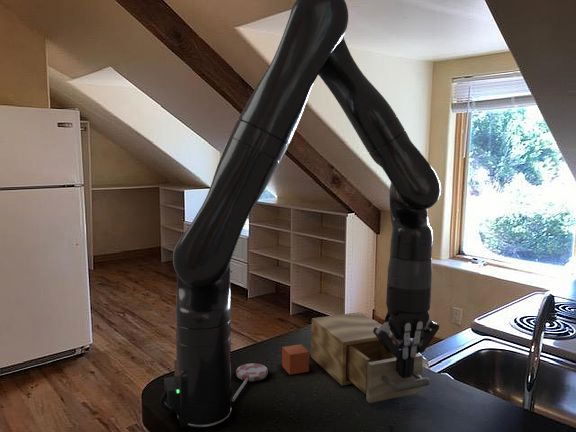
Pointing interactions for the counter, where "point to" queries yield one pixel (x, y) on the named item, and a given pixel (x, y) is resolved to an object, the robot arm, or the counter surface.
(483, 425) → the counter surface
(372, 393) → the drawer
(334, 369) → the cabinet
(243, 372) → the lollipop
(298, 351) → the block
